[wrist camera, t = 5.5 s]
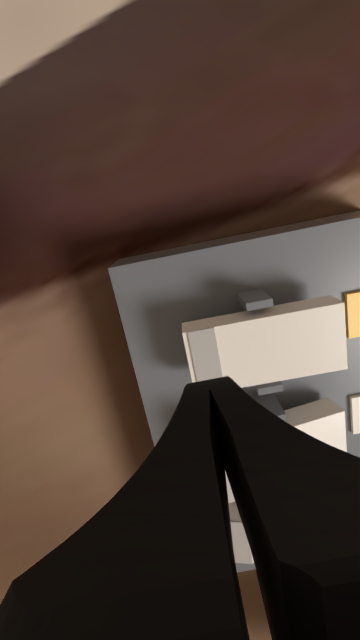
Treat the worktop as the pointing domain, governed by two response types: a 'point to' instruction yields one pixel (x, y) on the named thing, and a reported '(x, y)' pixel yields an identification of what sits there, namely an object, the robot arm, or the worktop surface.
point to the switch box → (241, 310)
